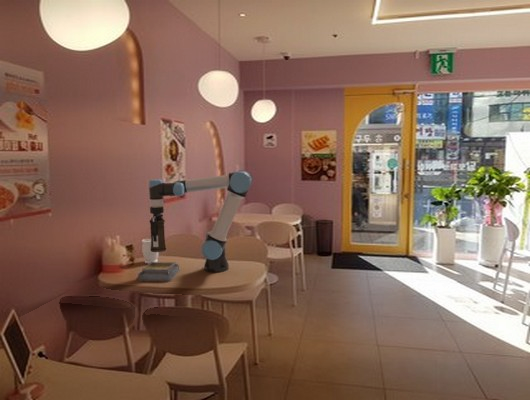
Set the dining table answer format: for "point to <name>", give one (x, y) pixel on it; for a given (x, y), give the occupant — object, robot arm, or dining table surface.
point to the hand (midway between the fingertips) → (158, 244)
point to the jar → (148, 251)
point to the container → (159, 237)
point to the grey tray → (159, 271)
